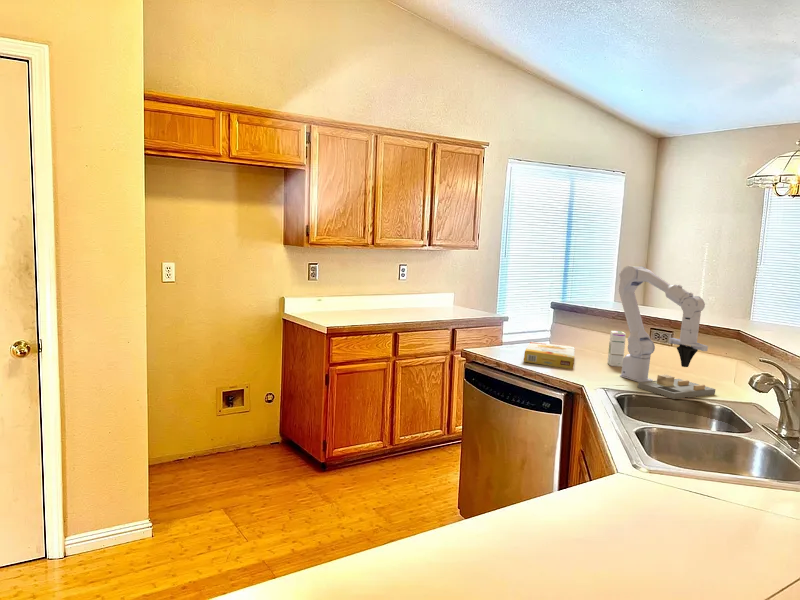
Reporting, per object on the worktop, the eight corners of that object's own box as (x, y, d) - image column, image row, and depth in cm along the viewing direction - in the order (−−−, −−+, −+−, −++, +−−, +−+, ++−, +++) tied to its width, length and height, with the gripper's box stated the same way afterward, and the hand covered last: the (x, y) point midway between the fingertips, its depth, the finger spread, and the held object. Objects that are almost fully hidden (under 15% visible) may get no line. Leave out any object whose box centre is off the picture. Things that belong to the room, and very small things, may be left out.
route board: (637, 387, 215) (638, 378, 214) (678, 383, 225) (679, 374, 225) (673, 399, 202) (674, 389, 201) (714, 394, 212) (716, 385, 212)
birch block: (656, 383, 215) (657, 375, 215) (664, 382, 217) (665, 374, 217) (666, 385, 212) (667, 377, 211) (673, 385, 214) (674, 377, 213)
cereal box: (524, 350, 244) (529, 339, 271) (523, 363, 245) (528, 351, 272) (575, 357, 239) (575, 345, 265) (573, 370, 239) (573, 358, 266)
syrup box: (623, 367, 250) (626, 333, 248) (608, 365, 251) (612, 332, 249) (620, 364, 255) (624, 331, 254) (606, 362, 257) (610, 330, 255)
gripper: (715, 333, 208) (710, 371, 209) (679, 326, 221) (675, 361, 222) (702, 333, 205) (697, 371, 206) (666, 326, 217) (662, 362, 219)
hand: (684, 366), depth 214 cm, fingers closed
